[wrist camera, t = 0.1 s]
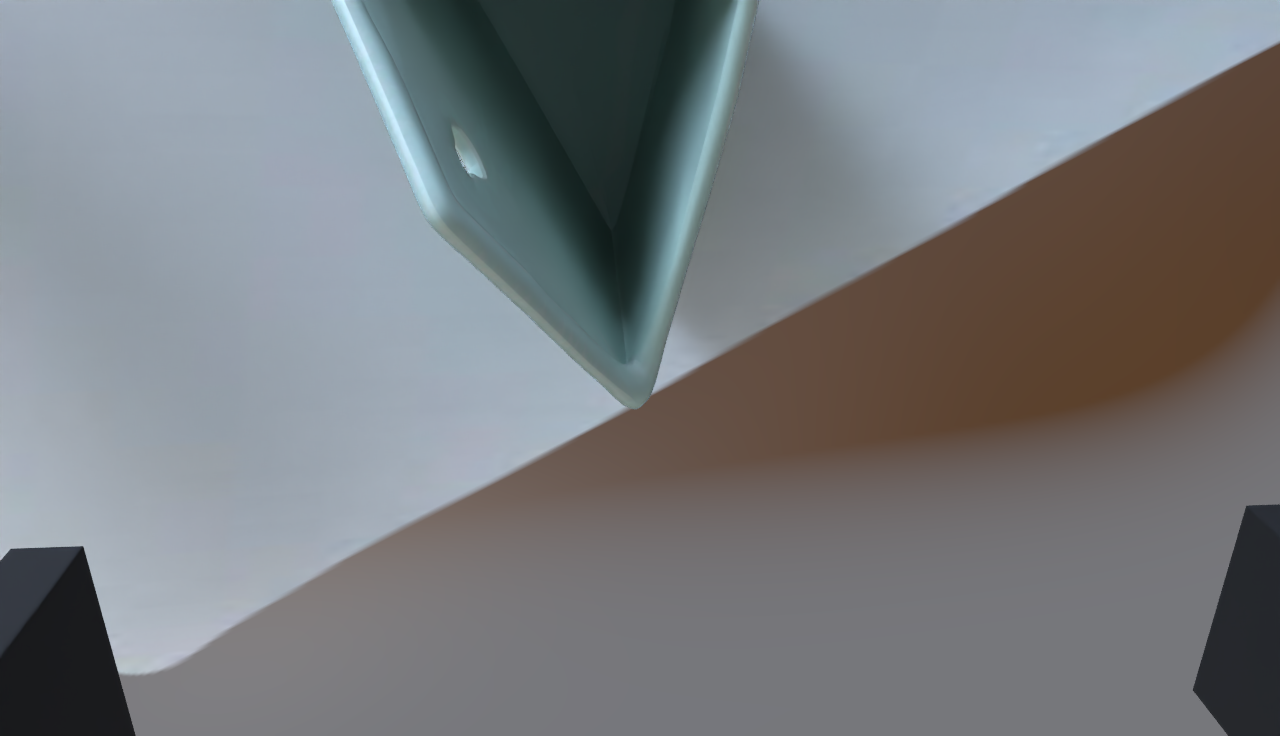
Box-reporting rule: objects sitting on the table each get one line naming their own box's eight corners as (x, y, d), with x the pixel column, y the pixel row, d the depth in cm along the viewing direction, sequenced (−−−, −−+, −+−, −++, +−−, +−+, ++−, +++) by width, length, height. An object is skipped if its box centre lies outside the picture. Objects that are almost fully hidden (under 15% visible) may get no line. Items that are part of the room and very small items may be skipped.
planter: (796, 152, 38) (996, 382, 20) (610, 253, 39) (643, 554, 21) (575, -309, 32) (580, -571, 14) (360, -171, 33) (108, -246, 15)
